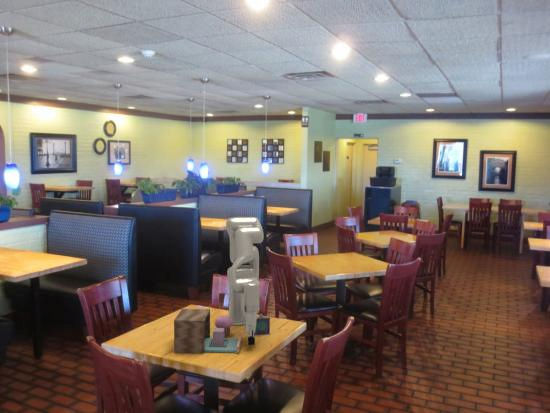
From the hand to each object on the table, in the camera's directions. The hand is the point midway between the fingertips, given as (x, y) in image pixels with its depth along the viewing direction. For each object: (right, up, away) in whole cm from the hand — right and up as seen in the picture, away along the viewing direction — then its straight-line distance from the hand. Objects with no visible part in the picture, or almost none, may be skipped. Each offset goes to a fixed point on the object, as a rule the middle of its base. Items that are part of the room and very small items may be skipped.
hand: (251, 344), depth 226 cm
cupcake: (-15, 0, +15) cm, 21 cm away
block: (-16, 0, 0) cm, 16 cm away
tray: (-14, -1, 0) cm, 14 cm away
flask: (+4, 0, +17) cm, 17 cm away
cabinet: (-28, -1, +1) cm, 28 cm away
